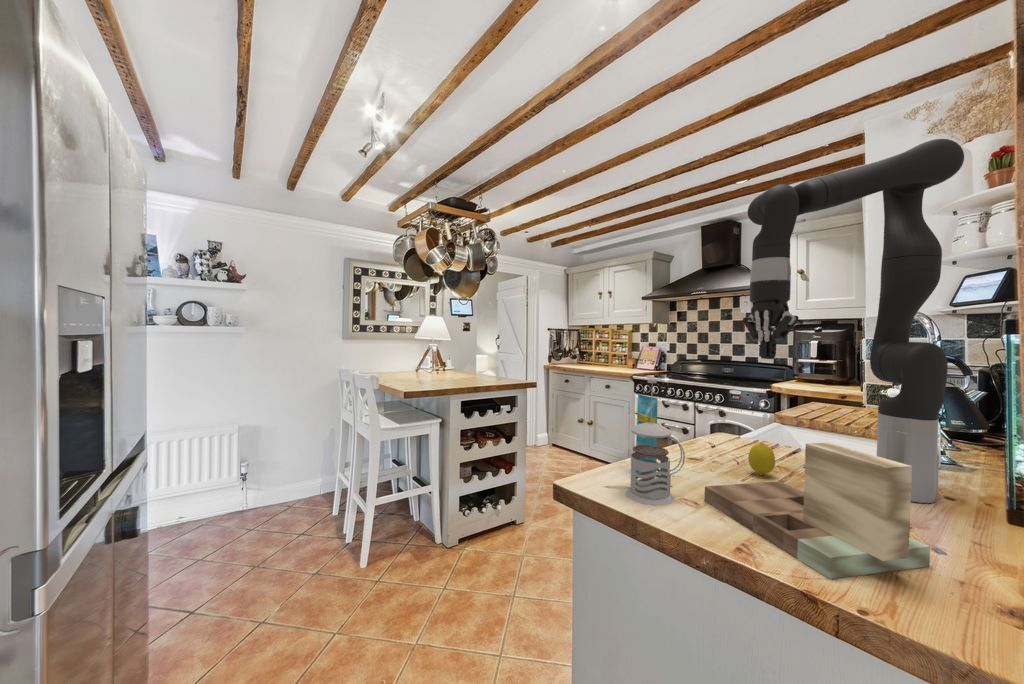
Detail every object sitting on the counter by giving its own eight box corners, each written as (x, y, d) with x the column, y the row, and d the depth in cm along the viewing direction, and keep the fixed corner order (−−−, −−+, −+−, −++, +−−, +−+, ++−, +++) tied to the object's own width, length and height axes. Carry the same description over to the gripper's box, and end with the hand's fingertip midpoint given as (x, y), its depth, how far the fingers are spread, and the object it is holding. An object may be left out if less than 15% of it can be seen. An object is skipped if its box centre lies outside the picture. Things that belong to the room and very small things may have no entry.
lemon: (779, 480, 93) (780, 447, 92) (753, 478, 94) (754, 445, 94) (768, 472, 98) (769, 440, 98) (744, 470, 99) (745, 439, 99)
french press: (621, 485, 88) (624, 374, 88) (675, 488, 87) (678, 375, 86) (630, 504, 78) (632, 379, 78) (690, 507, 77) (694, 380, 77)
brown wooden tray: (779, 495, 84) (779, 481, 84) (929, 566, 58) (930, 546, 58) (704, 500, 80) (704, 486, 80) (829, 578, 55) (830, 557, 55)
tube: (627, 470, 98) (629, 393, 97) (643, 468, 100) (644, 392, 99) (648, 480, 91) (651, 398, 91) (665, 478, 93) (667, 397, 93)
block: (825, 518, 67) (827, 442, 67) (908, 558, 55) (912, 466, 55) (803, 520, 66) (805, 443, 66) (882, 561, 54) (886, 467, 54)
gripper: (812, 277, 81) (809, 361, 81) (760, 284, 94) (758, 357, 94) (781, 275, 80) (778, 360, 80) (732, 283, 93) (730, 356, 93)
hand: (767, 358), depth 87 cm, fingers closed
